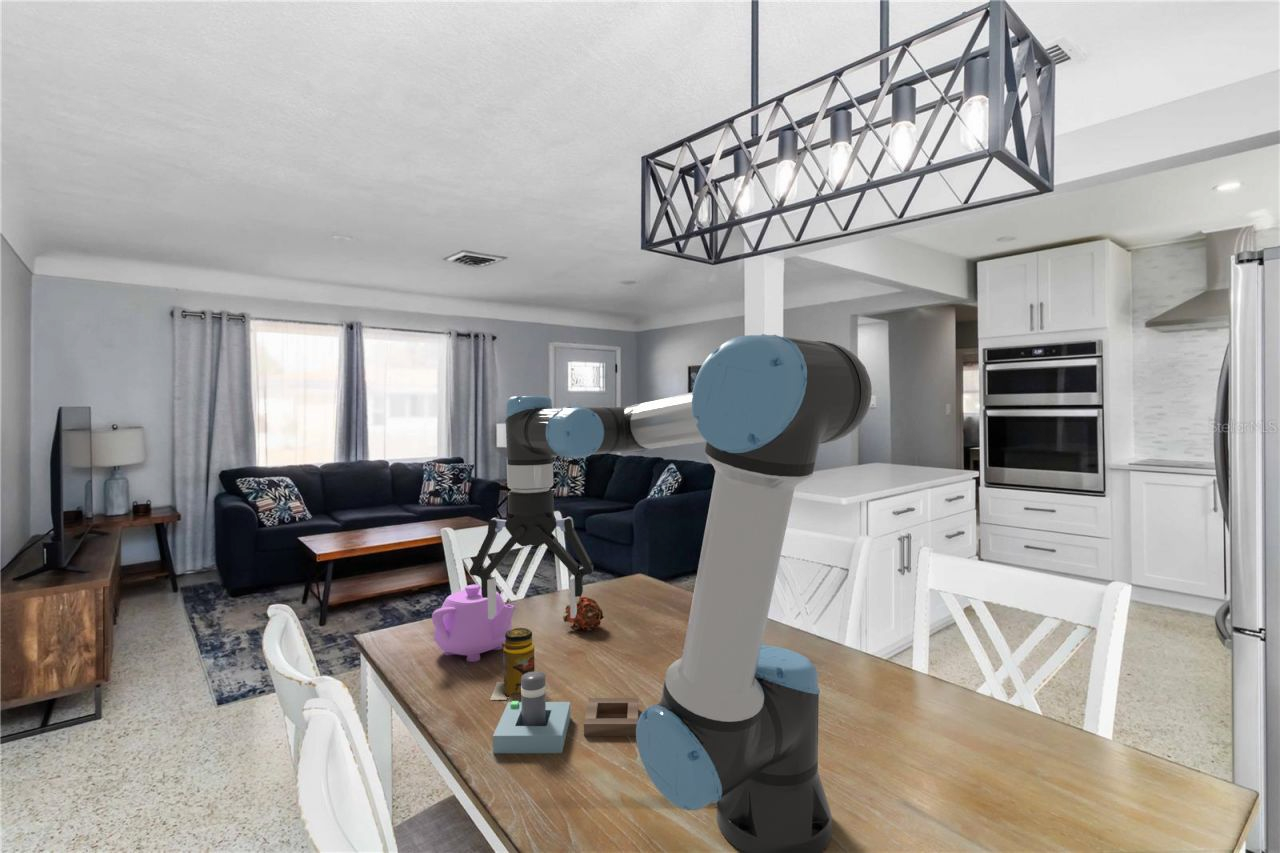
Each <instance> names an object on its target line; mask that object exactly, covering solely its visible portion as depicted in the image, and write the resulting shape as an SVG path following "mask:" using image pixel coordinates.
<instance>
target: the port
mask: <svg viewBox="0 0 1280 853" xmlns="http://www.w3.org/2000/svg"><path fill="white" fill-rule="evenodd" d="M570 721H571V701H546V726H522V701H519V700H512V701H508V702H507V703H506V706H505V708H504V711H503V713H502V715H501V717H500V719H499V721H498V723H497V726H496V728H495V731H494V732H493V735H492V752H493V753H492V754H563V750H564V747H565V742H566V738H567V735H568V734H567V733H568V729H569V725H570Z"/></svg>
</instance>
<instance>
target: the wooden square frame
mask: <svg viewBox="0 0 1280 853" xmlns="http://www.w3.org/2000/svg"><path fill="white" fill-rule="evenodd" d="M638 719H639V697H589V698H588V700H587V706H586V711H585V717H584V723H583V737H636V726H637V721H638Z"/></svg>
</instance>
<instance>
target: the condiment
mask: <svg viewBox="0 0 1280 853" xmlns="http://www.w3.org/2000/svg"><path fill="white" fill-rule="evenodd" d="M505 639H506V640H505V641H504V646H503V648H502V650H503V651H502V652H503V654H502V656H503V658H502V659H503V672H502V673H503V681H496V683H495V684H496V685H495V686H494V690H493V692H492V694H491V697H490V699H489V700H490V701H499V700H502V701H505V700H509V699H510V697H511V696H512V695H511V694H513V693H514V694H516V693H517V694H521V677H522V675H524V674H526V673H528V672H536V671H535V670H536V669H535V667H536V666H535V645H534V642H533V632H532V630H531V629H529V628H525V627H516V628H511V630H509V631H507V632H506V634H505ZM501 694H502V695H501ZM503 695H505V696H506V697H509V698H508V699H507V698H506V697H504V696H503Z"/></svg>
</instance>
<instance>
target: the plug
mask: <svg viewBox="0 0 1280 853" xmlns="http://www.w3.org/2000/svg"><path fill="white" fill-rule="evenodd" d="M546 685H547V684H546V674H545V673H543V672H541V671H535V672H528V673H526V674H524V675H522V677H521V692H520V694H521V701H520V702H522V726H546V702H547V701H546V698H547V696H546V694H547V692H546V691H547V688H546V687H547V686H546Z"/></svg>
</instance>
